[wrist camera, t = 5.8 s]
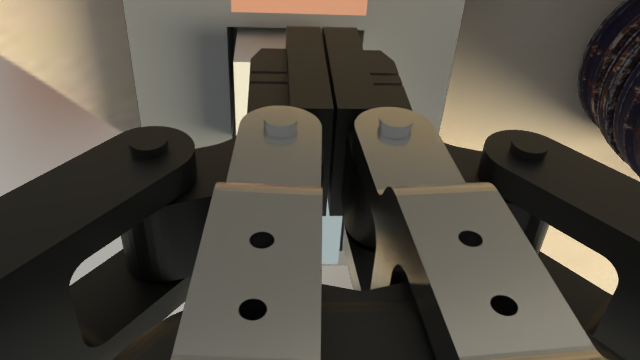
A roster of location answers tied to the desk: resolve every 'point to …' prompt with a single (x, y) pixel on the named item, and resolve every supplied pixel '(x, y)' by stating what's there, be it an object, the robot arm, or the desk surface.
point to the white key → (245, 49)
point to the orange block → (301, 6)
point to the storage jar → (615, 81)
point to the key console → (221, 27)
